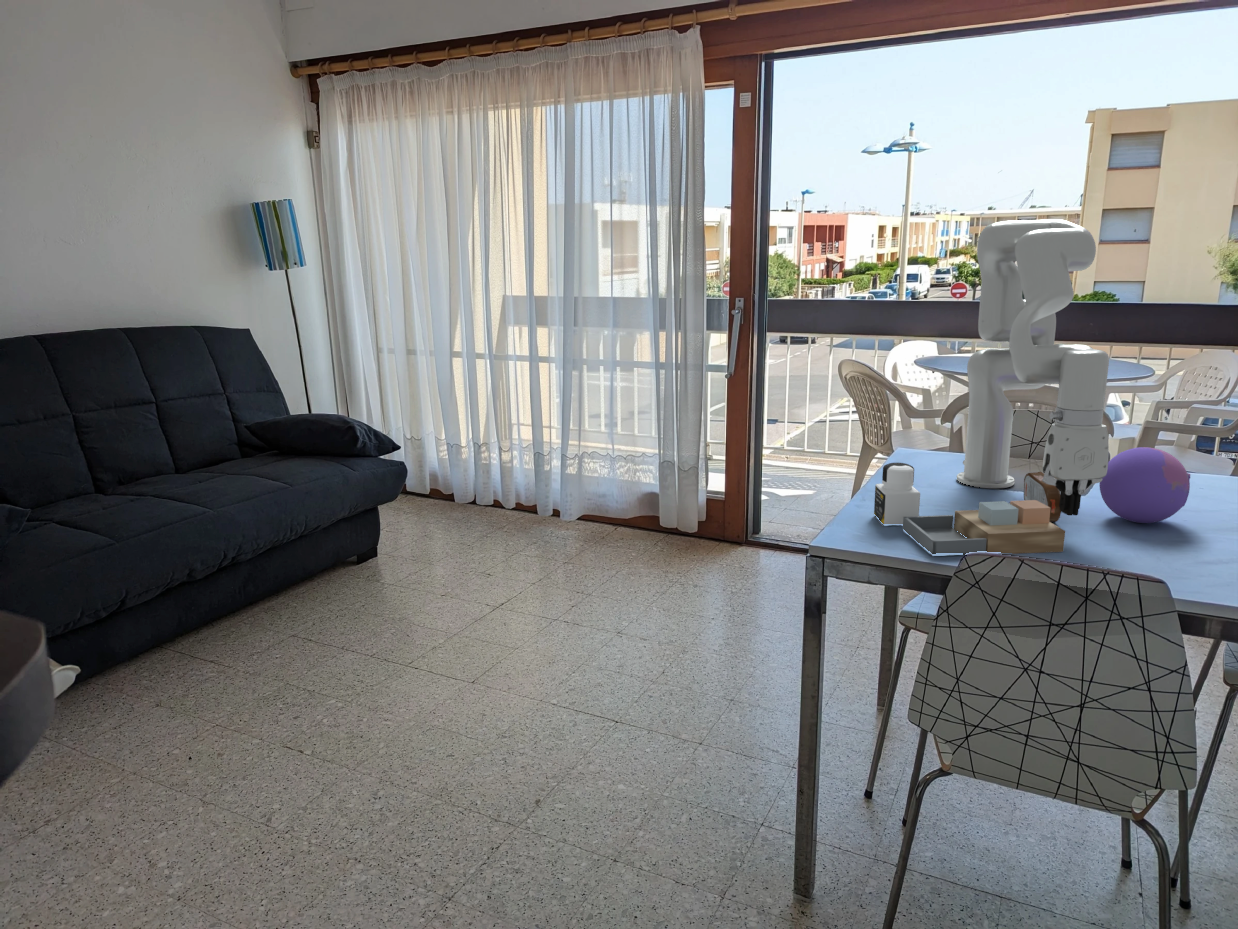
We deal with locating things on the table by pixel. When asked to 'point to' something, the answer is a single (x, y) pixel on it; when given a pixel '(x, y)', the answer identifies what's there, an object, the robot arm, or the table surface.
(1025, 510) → the tile terracotta
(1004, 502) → the tile slate
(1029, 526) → the board
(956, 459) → the table surface
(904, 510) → the medicine bottle
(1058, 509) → the tin
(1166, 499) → the decorative ball
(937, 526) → the tray
